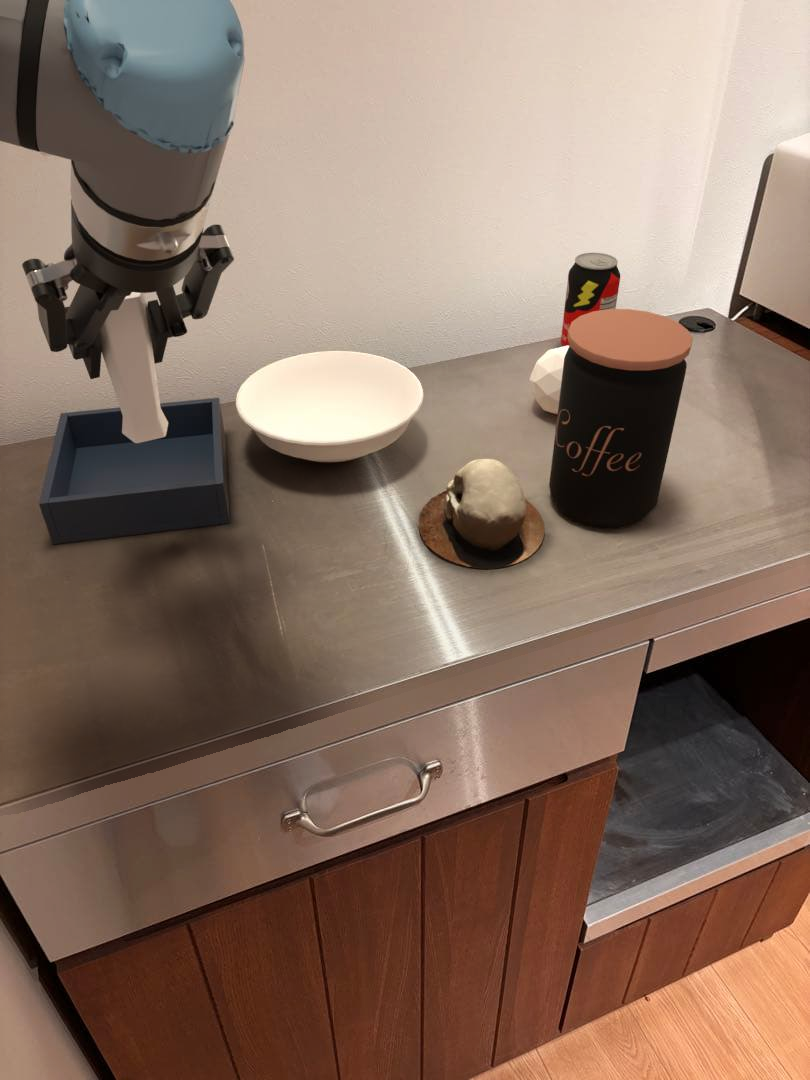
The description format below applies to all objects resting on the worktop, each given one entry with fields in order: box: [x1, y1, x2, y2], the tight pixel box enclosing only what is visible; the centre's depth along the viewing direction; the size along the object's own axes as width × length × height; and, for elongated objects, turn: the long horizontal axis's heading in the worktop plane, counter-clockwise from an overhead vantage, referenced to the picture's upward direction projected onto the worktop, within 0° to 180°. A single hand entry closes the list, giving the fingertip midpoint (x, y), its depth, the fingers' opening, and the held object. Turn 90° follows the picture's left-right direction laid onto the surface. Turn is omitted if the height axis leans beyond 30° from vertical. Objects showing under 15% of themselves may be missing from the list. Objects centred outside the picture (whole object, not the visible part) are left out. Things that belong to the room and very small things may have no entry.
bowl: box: [235, 350, 425, 463], centre depth 92 cm, size 20×20×6 cm
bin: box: [38, 397, 231, 545], centre depth 87 cm, size 17×17×5 cm
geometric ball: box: [528, 346, 569, 415], centre depth 97 cm, size 8×8×8 cm
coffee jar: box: [548, 308, 693, 530], centre depth 80 cm, size 11×11×18 cm
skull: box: [417, 458, 546, 570], centre depth 81 cm, size 12×10×10 cm
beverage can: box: [560, 252, 621, 347], centre depth 108 cm, size 6×6×12 cm
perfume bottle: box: [97, 292, 168, 443], centre depth 67 cm, size 5×4×15 cm
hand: (121, 355), depth 71 cm, fingers closed on perfume bottle, 5 cm apart
